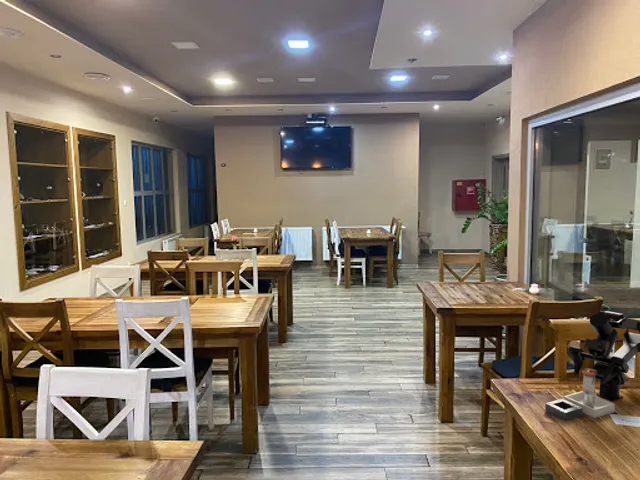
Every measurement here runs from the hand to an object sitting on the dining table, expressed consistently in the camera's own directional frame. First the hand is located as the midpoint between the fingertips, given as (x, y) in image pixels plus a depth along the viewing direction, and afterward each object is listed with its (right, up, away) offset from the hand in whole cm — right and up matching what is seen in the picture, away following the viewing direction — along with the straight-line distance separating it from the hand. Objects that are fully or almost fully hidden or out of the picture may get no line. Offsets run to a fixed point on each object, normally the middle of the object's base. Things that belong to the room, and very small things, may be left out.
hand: (588, 379), depth 165 cm
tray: (+1, -10, +1) cm, 11 cm away
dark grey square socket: (-10, -11, -2) cm, 15 cm away
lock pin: (+1, -10, +1) cm, 10 cm away
